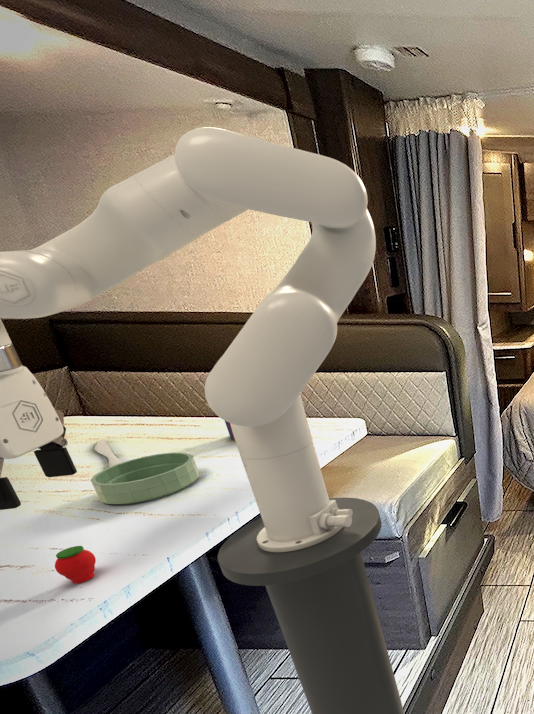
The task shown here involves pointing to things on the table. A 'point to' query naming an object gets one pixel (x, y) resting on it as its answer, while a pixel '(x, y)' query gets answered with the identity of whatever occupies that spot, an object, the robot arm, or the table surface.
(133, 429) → the table surface
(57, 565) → the strawberry
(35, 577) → the table surface
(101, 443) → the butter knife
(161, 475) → the bowl
